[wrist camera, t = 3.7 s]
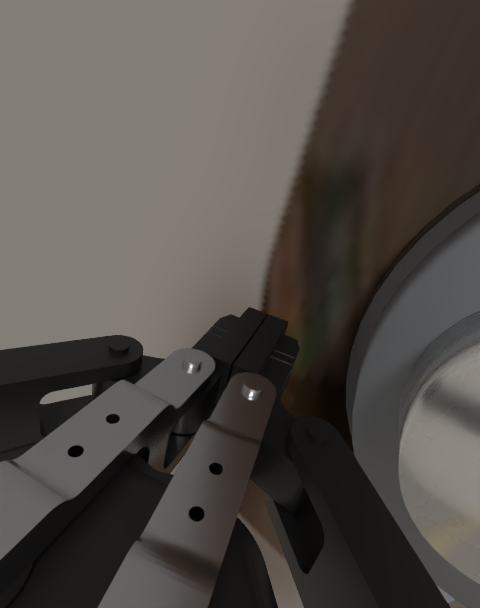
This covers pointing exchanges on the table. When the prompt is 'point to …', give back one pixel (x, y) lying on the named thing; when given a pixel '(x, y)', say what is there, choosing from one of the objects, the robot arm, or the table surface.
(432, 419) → the cover
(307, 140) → the table surface
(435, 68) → the table surface
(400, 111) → the table surface
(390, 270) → the turntable base
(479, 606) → the turntable
